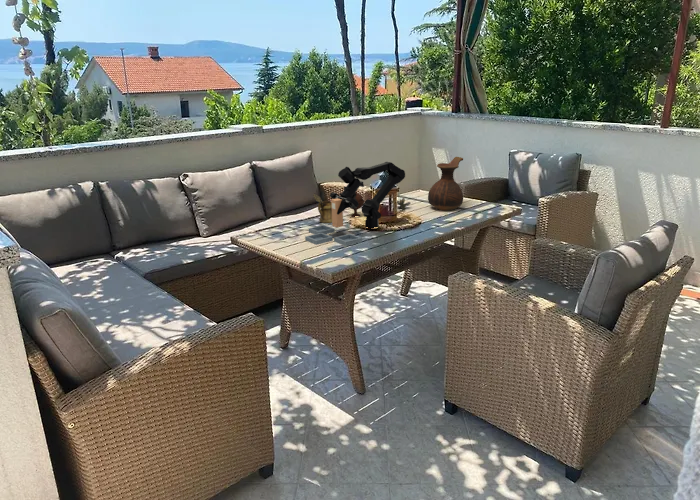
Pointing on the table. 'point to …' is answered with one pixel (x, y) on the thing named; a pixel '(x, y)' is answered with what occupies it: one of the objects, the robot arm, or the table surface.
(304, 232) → the table surface
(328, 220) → the wooden mug
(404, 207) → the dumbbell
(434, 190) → the jug
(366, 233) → the table surface
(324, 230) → the empty tray
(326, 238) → the tray
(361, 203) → the ice cream bowl
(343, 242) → the empty tray
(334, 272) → the table surface
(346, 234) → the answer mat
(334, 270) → the table surface
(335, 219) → the orange block
